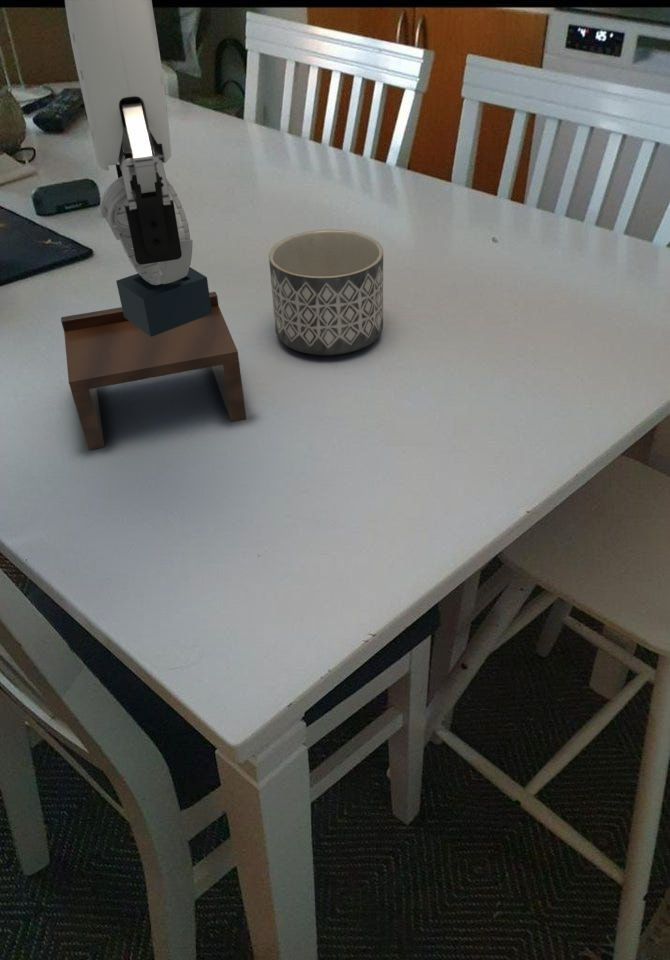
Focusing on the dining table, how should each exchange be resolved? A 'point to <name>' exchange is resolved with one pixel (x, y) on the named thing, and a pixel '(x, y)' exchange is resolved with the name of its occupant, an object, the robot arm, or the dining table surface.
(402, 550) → the dining table surface
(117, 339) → the shelf
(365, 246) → the planter
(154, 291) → the watch
